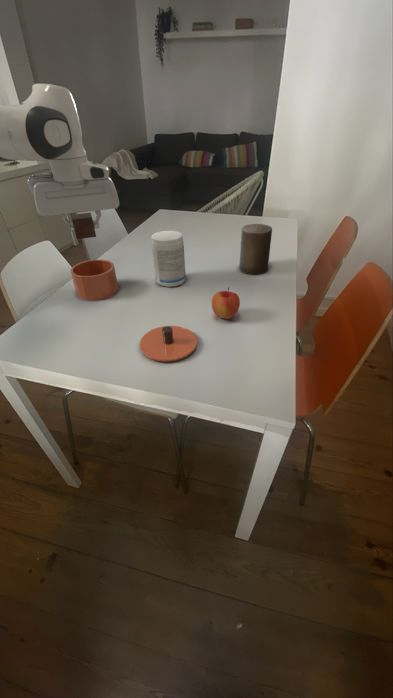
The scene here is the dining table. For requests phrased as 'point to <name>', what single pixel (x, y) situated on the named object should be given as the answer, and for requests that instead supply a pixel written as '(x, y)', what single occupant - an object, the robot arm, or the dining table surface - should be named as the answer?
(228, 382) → the dining table surface
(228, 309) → the apple
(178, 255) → the supplement tub
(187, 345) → the bowl lid
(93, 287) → the bowl
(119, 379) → the dining table surface
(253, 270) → the pillar candle
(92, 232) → the block
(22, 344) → the dining table surface
